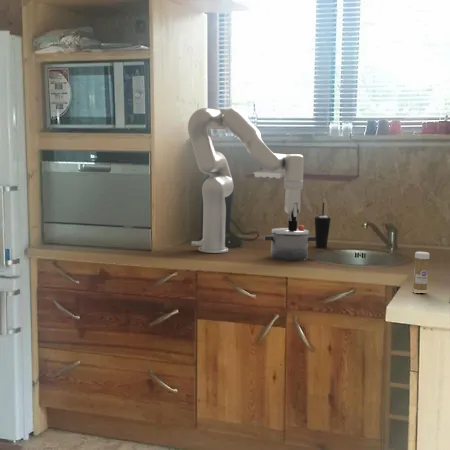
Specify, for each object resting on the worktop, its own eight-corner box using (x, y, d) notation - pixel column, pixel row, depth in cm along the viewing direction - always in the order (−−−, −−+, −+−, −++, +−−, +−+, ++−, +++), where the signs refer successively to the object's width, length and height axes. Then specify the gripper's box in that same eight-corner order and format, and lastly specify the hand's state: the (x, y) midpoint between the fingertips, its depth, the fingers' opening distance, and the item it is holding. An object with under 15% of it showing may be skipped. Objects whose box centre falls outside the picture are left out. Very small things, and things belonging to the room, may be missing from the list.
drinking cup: (329, 245, 321) (331, 202, 318) (330, 248, 313) (332, 204, 311) (312, 245, 322) (314, 201, 319) (312, 247, 314) (315, 203, 312)
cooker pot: (266, 260, 279) (267, 235, 278) (260, 253, 295) (261, 229, 294) (318, 261, 281) (319, 236, 280) (309, 254, 297) (310, 230, 296)
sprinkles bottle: (418, 294, 227) (421, 253, 225) (409, 291, 231) (412, 251, 229) (429, 293, 229) (432, 253, 227) (420, 290, 233) (423, 250, 231)
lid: (274, 234, 278) (275, 226, 278) (269, 230, 293) (269, 222, 293) (312, 235, 279) (312, 227, 279) (304, 231, 294) (304, 223, 294)
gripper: (281, 183, 289) (280, 228, 291) (287, 186, 274) (286, 233, 276) (299, 184, 290) (298, 228, 292) (306, 186, 275) (305, 233, 277)
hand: (292, 230), depth 284 cm, fingers closed
